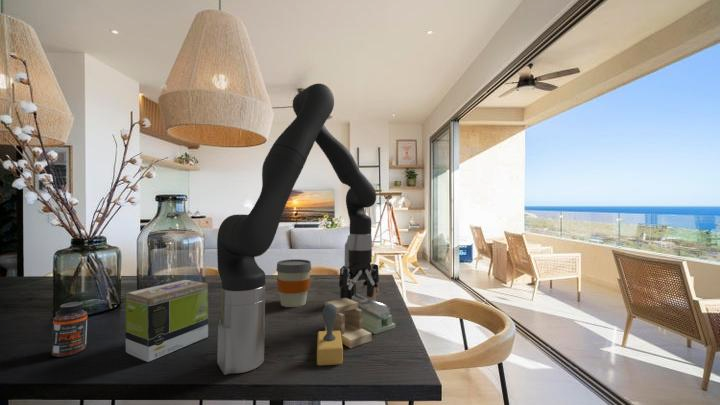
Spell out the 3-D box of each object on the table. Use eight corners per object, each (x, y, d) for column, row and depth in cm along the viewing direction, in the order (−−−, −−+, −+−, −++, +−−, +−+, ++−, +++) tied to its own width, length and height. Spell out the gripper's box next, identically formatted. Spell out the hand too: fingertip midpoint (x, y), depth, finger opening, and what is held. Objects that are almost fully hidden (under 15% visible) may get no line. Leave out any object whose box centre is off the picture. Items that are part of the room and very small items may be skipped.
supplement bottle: (55, 360, 67) (57, 310, 67) (47, 353, 70) (49, 305, 70) (90, 350, 72) (91, 303, 72) (81, 344, 75) (82, 298, 75)
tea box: (185, 330, 84) (186, 278, 84) (208, 338, 79) (210, 282, 80) (123, 353, 71) (125, 290, 71) (146, 364, 66) (148, 297, 66)
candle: (353, 305, 107) (354, 236, 107) (339, 304, 108) (340, 235, 108) (356, 301, 112) (357, 234, 112) (343, 300, 113) (343, 234, 113)
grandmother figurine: (382, 304, 109) (383, 269, 109) (377, 307, 105) (377, 271, 106) (364, 301, 113) (365, 267, 113) (359, 303, 109) (359, 269, 110)
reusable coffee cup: (299, 296, 118) (300, 258, 119) (317, 303, 109) (318, 262, 109) (269, 302, 110) (270, 261, 110) (286, 311, 101) (287, 266, 101)
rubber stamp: (317, 345, 76) (318, 298, 76) (340, 344, 77) (340, 297, 77) (316, 365, 66) (317, 311, 67) (342, 364, 67) (343, 310, 67)
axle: (389, 318, 87) (390, 304, 87) (379, 320, 85) (380, 306, 85) (359, 305, 98) (360, 293, 98) (350, 307, 96) (350, 295, 96)
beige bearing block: (350, 348, 74) (350, 314, 75) (324, 332, 84) (325, 302, 84) (371, 340, 79) (371, 308, 79) (345, 326, 88) (345, 297, 88)
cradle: (375, 334, 83) (375, 321, 83) (347, 320, 93) (347, 309, 93) (395, 327, 88) (395, 315, 88) (367, 314, 98) (367, 304, 98)
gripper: (369, 245, 103) (368, 292, 102) (335, 248, 94) (334, 300, 94) (384, 247, 97) (383, 298, 96) (349, 250, 88) (348, 306, 88)
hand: (359, 298), depth 95 cm, fingers open, 8 cm apart
